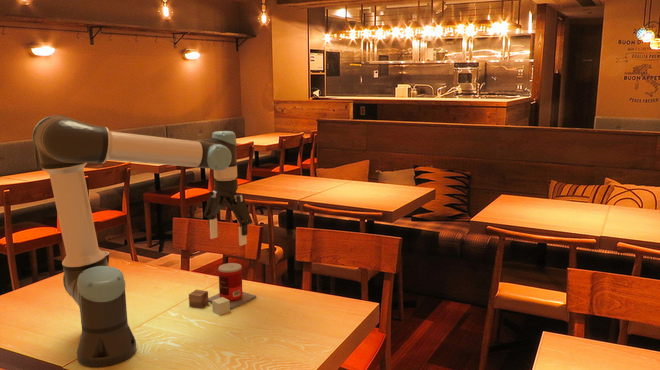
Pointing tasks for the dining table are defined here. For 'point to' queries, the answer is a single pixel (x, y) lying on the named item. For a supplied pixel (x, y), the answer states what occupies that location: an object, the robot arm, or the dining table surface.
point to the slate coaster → (233, 304)
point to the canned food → (230, 281)
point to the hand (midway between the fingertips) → (228, 241)
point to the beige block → (221, 306)
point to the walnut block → (198, 299)
